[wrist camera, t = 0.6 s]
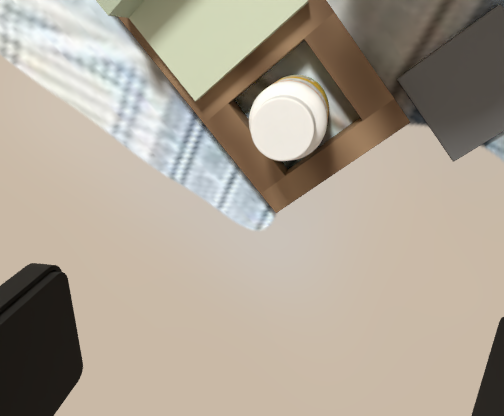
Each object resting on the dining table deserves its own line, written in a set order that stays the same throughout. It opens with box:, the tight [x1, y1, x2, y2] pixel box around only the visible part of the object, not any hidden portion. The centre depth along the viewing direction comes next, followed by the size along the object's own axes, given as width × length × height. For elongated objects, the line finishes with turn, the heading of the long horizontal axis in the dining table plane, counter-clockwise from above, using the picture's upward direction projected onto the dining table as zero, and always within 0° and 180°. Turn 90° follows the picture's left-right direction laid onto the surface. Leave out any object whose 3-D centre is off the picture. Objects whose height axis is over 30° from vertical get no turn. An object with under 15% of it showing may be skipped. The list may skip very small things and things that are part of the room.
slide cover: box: [96, 0, 308, 101], centre depth 29 cm, size 11×9×4 cm
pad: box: [397, 5, 504, 161], centre depth 31 cm, size 8×8×1 cm
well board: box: [119, 0, 410, 213], centre depth 32 cm, size 13×26×2 cm, turn 39°
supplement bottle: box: [249, 75, 329, 161], centre depth 30 cm, size 5×5×10 cm
